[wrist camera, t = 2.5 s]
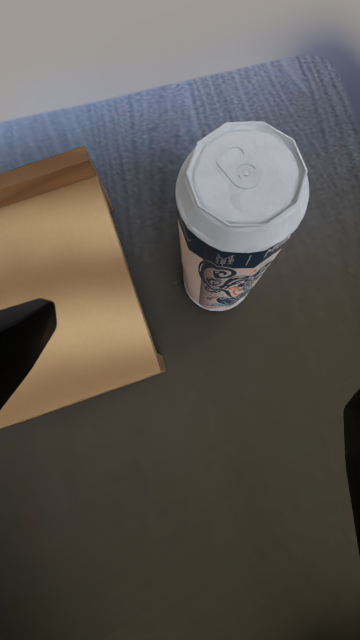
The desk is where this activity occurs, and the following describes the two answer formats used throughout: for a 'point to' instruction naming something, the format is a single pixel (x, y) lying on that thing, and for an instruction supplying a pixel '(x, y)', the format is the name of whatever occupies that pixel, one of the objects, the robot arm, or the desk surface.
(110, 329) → the small wooden stand
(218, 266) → the drink can
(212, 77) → the desk surface
